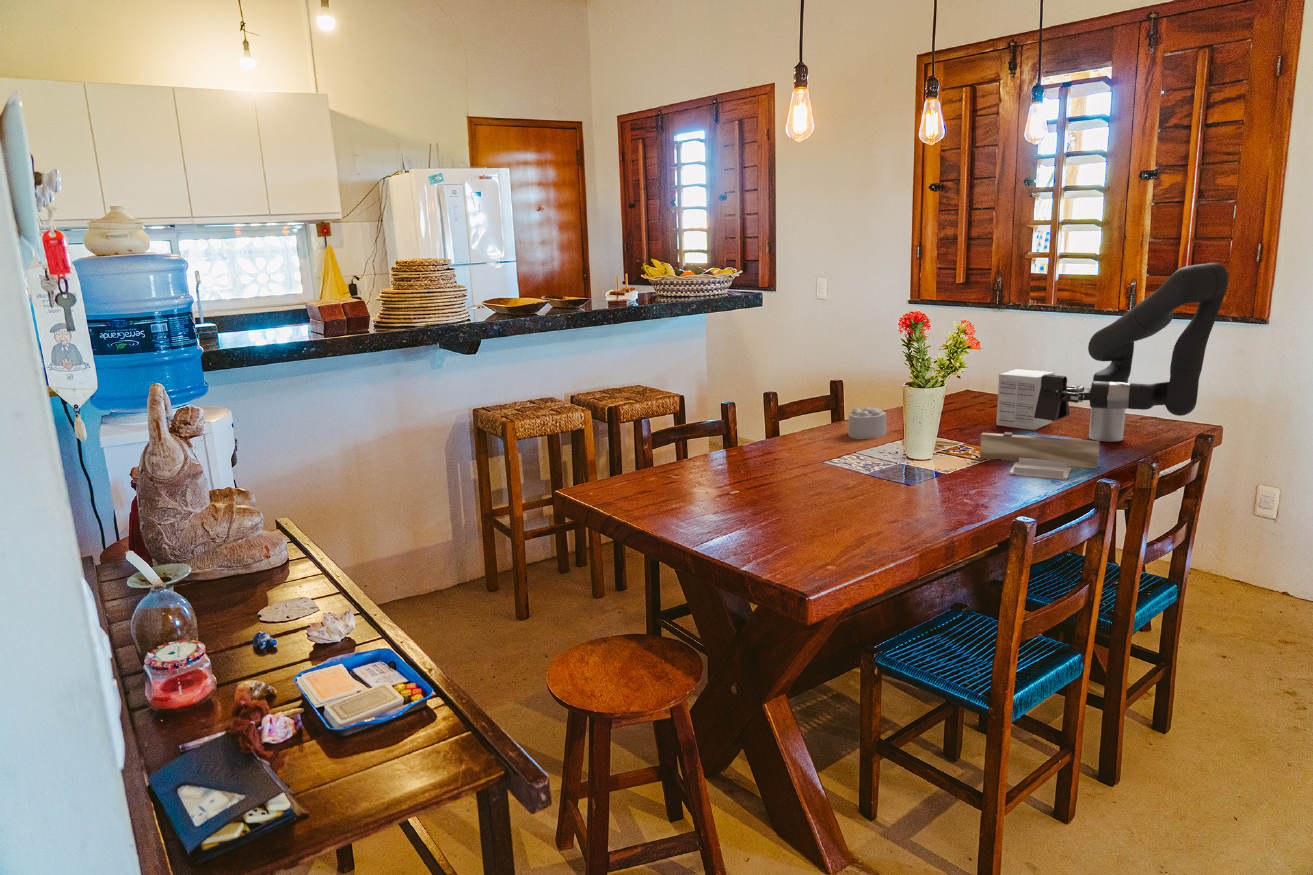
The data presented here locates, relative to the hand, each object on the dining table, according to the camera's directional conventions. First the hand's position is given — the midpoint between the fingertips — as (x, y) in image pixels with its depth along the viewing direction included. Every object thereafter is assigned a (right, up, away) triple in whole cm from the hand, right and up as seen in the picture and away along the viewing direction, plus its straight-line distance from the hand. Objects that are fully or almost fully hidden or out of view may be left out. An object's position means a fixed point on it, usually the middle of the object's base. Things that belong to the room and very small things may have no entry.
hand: (1042, 392), depth 236 cm
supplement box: (+13, -9, +40) cm, 43 cm away
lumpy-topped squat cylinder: (-42, -12, +36) cm, 56 cm away
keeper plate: (-7, -22, -14) cm, 27 cm away
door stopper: (+3, -7, 0) cm, 8 cm away
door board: (-4, -20, -5) cm, 21 cm away
